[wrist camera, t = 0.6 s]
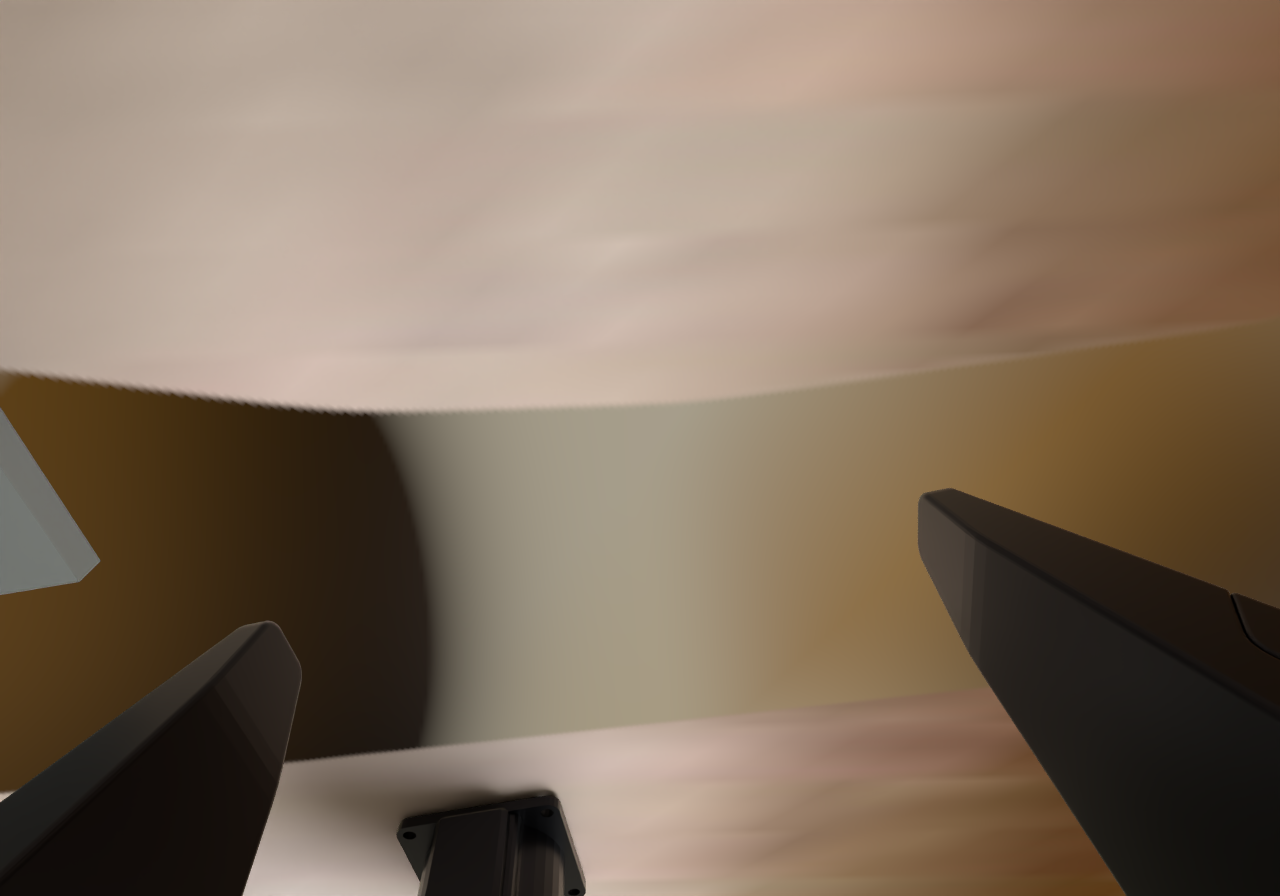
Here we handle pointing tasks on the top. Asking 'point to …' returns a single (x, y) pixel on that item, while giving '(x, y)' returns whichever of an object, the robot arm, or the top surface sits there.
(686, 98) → the top surface
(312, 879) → the top surface
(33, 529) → the rubber mat
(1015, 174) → the top surface
